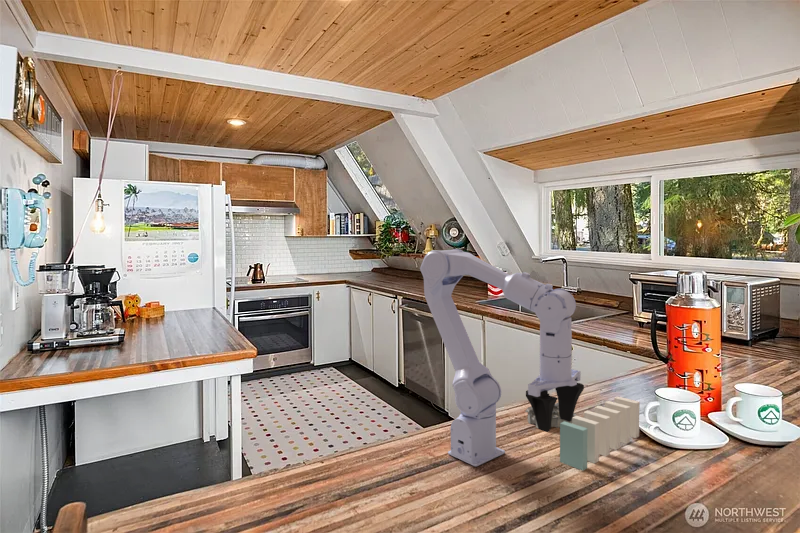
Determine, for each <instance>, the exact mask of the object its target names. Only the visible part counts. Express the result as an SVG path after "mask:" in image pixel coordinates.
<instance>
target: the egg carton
mask: <svg viewBox="0 0 800 533" xmlns="http://www.w3.org/2000/svg"><path fill="white" fill-rule="evenodd" d="M524 412H525V413H527V422H528V424H531V425H532V424H533V425H535V428H537V429H538V426H537V422H536V418H535V414H534V411H533V408H532V406H529V407H527V408H526V410H525V411H524ZM575 416H577V413H575V412H574V414H573V417H575ZM564 421H565V422H568V423H572V421H570V422H569V421H566V420H563V419H560V415H559V404H558V402H556V403H555V405H554V408H553V413H552V421H551V428H560V423H562V422H564Z"/></svg>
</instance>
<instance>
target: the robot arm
mask: <svg viewBox="0 0 800 533" xmlns="http://www.w3.org/2000/svg"><path fill="white" fill-rule="evenodd" d="M419 270H420V272H421V274H422V277H423V292H424V293H423V294H424V298H425V300H426V303H427V306H428V308H429V310H430V313H431V315H432V319H433V320H434V323H435V325H436V327H437V330H438V332H439V336H440V338H441V339H442V342H443V344H444V347H445V349H446V352H447V354H448V356H449V359H450V361H451V365H452V367H453V369H454V371H455V374H454V376H453V380H452V383H451V384H452V387H453V391H454V403H455V405H456V408H457V409H458V410H459V411H460V413H459V416H457V417H456V418H455V419H453V421H451V424H450V450H449V451H447V454H448V455H450V456H452V457H454V458H456V459H459V460H461V462H465V463H467V464H469V465H471V466H473V467H478V466H481V465H483V464H485V463H487V462H489V461H492V460H494V459H495V458H498V457H500V456H502V455H504V454H505V453H506V451H505V449H502V448H500V447H497V403H498V402H499V401H500V399H501V397H502V387H501V385H500V382H498V381H497V379H496V378H495V377H494V376H493V375H492V372H490V369H489V368H488V367H487V366H486V365H484V364H482V363H481V362H480V361H479V358H478V356H477V354H476V352H475V349H474V346H473V345H472V344H473V343H472V342H471V339H470V336H469V334H468V332H467V330H466V327H465V325H464V323H463V321H462V318H461V315H460V313H459V312H458V308H457V306H456V304H455V301H454V299H453V297H452V295H453V291H454V289H455V287H456V285H457V284H458V283H459V282H460V280H461V279H462V278H463V277H464V276H467V275H468V276H471V277H472V278H475V279H477V280H480V281H482V282H484V283H487V284H489V285H491V286H493V287H495V288H498V289H499V290H502V293H503V296H504V298H505V299H507V300H509V301H511V302H513V303H514V304H517V305H519V306H521V307H522V308H525V310H528V311H530V312H533V313H535V315H536V317H537V318H538V320H539V375H538V376H537V377H535V379H534V380H533V381H532V382H530V383H528V384H527V390H526V391H525V397H526V398H527V401H528V402H529V404H530V405H531V406H530V407H532V408H533V411H534V414H535V418H536V422H537V426H538V428H537V429H538V430H539V431H543V432H545V433H549V432H550V431H551V428H552V427H551V421H552V413H553V408H554V405H555V404H556V403H558V404H559V415H560V419H563V420H566V421H569V422H570V421H572V418H573V414H575V410H576V406H577V404H578V401H579V398H580V396H581V394H582V392H583V391H584V390H585V385H584V384H583V383H580V381H581V370H578V369H573V368H572V358H573V356H572V352H573V351H572V350H573V349H572V348H573V347H572V346H573V344H572V342H573V336H572V335H573V334H572V332H573V331H572V317H571V316H572V315H574V313H575V312H576V308H577V303H576V300H575V298H574V296H573V295H572V293H570V292H569V291H567V289H566V288H555V289H553V286H554V285H553V284H551V283H550V282H549V283H543V282H541V281H539V280H536V279H534V278H532V277H531V276H532V275H531V274H530V273H529V272H526V271H523V272H517V271H516V272H515V273H512V274H510V273H508V272H505V271H504V270H502V269H499V268H498V267H496V266H494V265H492V264H490V263H488V262H487V261H485V260H483V259H481V258H479V257H477V256H475V255H473V254H472V252H468V251H463V249H460V248H453V249H445V250H444V249H443V250H442V249H441V250H439V249H438V250H436V249H434V250H430V251H428V252H427V253H426V254H425V255H424V257H423V260H422V262H421V265H420V267H419ZM553 389H555V393H556V396H557V397H556V396H553V395H550V393H548V392H550V391H551V390H553ZM557 401H558V402H557Z"/></svg>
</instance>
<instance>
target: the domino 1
mask: <svg viewBox="0 0 800 533" xmlns="http://www.w3.org/2000/svg"><path fill="white" fill-rule="evenodd" d="M559 462H560V463H563V464H564V465H567V466H570V467H572V468H575V469H576V470H577V469H578V470H580V471H582V472H584V471H585V470H586V469H588V461H587V428H584V427H581V426H578V425H575V424H572V423H568V422H565V421H564V422H562V423H560V427H559Z"/></svg>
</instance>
